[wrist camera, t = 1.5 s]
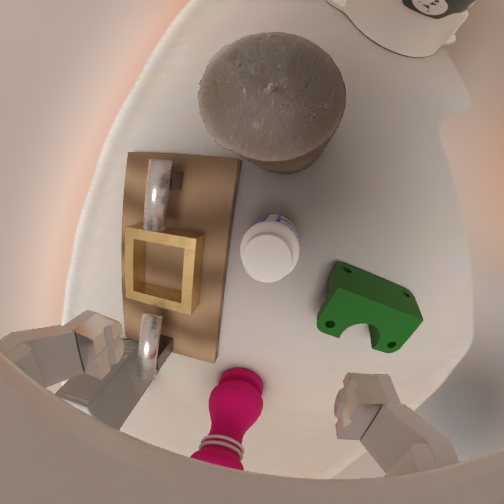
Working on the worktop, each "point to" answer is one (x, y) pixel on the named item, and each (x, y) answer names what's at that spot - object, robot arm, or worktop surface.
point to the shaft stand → (175, 254)
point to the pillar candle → (273, 100)
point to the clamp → (369, 308)
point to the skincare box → (108, 389)
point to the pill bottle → (270, 248)
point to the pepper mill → (231, 417)
